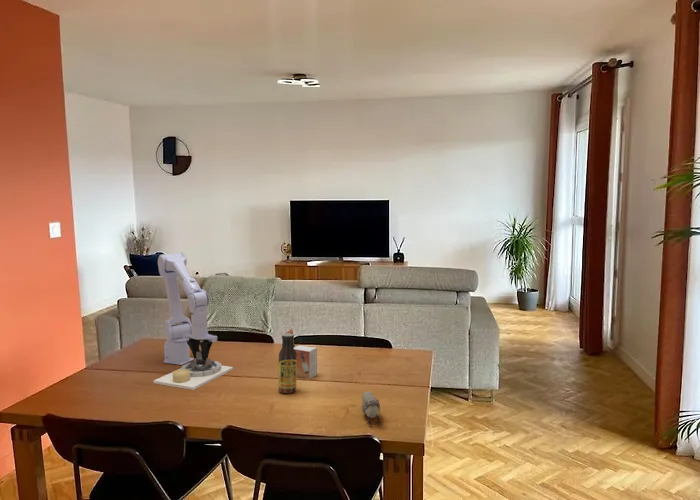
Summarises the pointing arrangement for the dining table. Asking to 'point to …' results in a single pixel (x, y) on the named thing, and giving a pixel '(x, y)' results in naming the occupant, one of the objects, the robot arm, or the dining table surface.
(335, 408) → the dining table surface
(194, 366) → the gear
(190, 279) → the robot arm
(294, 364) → the sauce bottle
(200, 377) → the carrier plate
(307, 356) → the small box
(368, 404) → the decorative bird
